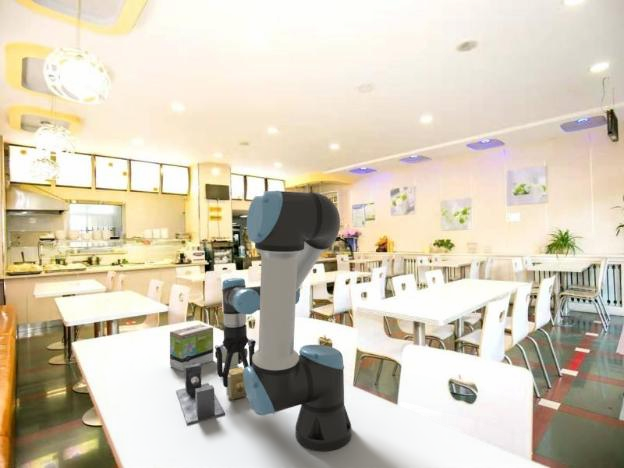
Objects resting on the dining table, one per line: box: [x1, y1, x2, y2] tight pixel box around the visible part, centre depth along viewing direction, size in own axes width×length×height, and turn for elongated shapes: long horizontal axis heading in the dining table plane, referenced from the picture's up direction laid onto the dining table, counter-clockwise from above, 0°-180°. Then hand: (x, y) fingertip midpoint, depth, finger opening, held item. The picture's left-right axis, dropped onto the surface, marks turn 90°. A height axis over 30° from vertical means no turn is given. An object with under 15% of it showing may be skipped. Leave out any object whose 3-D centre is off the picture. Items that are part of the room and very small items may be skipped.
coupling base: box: [175, 363, 226, 426], centre depth 112 cm, size 24×11×9 cm, turn 28°
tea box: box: [169, 323, 214, 372], centre depth 147 cm, size 15×10×15 cm, turn 143°
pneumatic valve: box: [214, 347, 249, 370], centre depth 136 cm, size 6×12×12 cm, turn 78°
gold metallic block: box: [228, 366, 247, 400], centre depth 116 cm, size 8×5×8 cm, turn 29°
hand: (237, 393), depth 116 cm, fingers closed on gold metallic block, 5 cm apart
